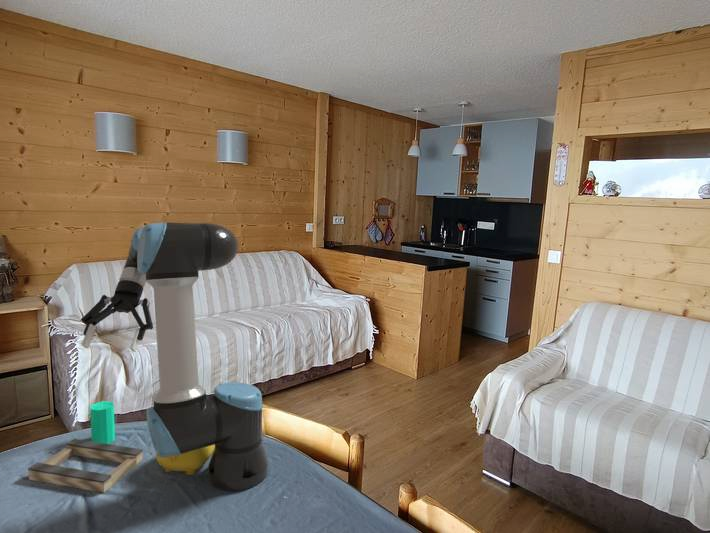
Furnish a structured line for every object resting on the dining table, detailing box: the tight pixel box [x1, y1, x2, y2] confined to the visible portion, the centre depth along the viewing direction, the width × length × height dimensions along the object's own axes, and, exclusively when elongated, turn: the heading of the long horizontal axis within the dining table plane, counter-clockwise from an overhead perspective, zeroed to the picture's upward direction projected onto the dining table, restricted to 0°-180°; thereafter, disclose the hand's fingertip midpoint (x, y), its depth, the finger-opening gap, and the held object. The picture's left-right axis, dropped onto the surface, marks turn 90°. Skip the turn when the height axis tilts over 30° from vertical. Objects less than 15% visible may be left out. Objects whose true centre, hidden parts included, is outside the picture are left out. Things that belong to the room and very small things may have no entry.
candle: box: [89, 400, 116, 444], centre depth 126 cm, size 6×6×12 cm
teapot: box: [155, 444, 215, 476], centre depth 117 cm, size 13×20×12 cm
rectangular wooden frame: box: [27, 438, 144, 494], centre depth 113 cm, size 21×14×3 cm, turn 79°
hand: (108, 348), depth 129 cm, fingers open, 13 cm apart
